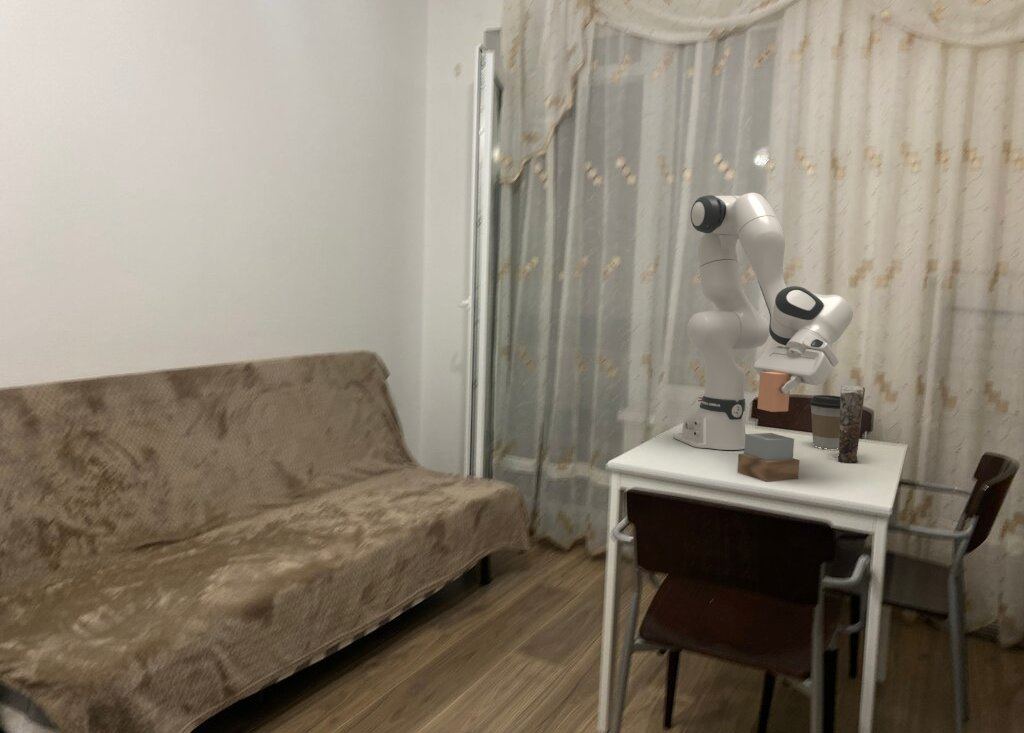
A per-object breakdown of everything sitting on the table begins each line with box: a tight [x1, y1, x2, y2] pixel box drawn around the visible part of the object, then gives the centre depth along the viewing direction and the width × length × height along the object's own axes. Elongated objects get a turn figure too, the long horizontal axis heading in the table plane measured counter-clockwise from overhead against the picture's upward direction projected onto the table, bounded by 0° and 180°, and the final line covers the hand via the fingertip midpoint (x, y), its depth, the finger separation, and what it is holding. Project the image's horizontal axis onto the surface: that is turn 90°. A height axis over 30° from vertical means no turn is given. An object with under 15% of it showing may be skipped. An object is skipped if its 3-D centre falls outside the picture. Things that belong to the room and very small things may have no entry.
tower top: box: [743, 432, 795, 461], centre depth 193 cm, size 8×8×5 cm
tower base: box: [736, 452, 801, 483], centre depth 193 cm, size 10×10×5 cm
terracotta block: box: [756, 372, 791, 413], centre depth 191 cm, size 5×5×9 cm
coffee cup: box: [808, 394, 840, 449], centre depth 233 cm, size 11×11×15 cm
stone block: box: [837, 384, 866, 463], centre depth 217 cm, size 13×7×20 cm, turn 162°
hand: (772, 389), depth 191 cm, fingers closed on terracotta block, 5 cm apart
